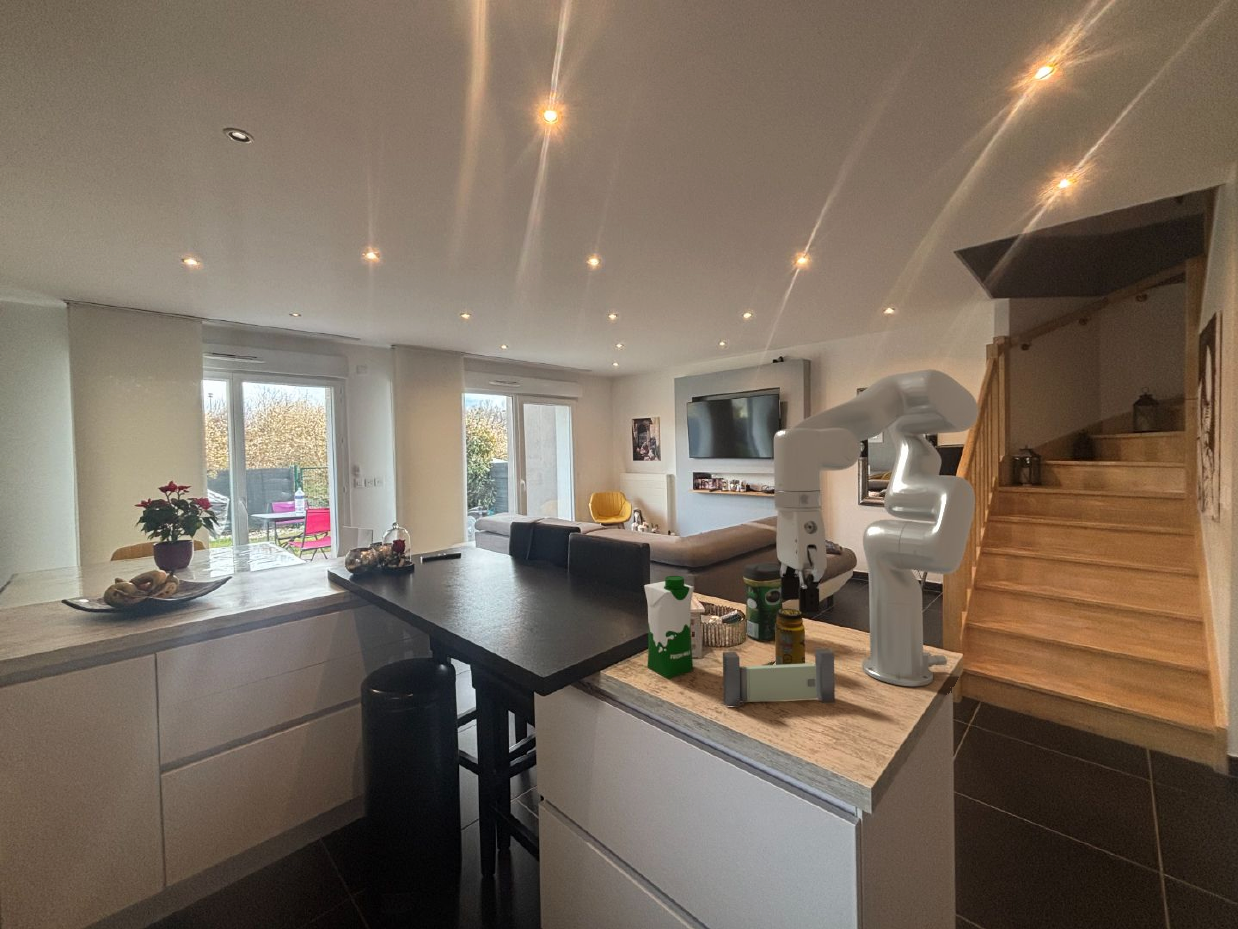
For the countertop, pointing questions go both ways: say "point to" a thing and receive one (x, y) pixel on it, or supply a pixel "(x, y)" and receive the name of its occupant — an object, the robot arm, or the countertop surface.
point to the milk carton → (669, 626)
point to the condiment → (789, 638)
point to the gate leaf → (778, 682)
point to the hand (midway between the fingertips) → (799, 604)
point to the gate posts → (823, 676)
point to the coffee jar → (762, 599)
